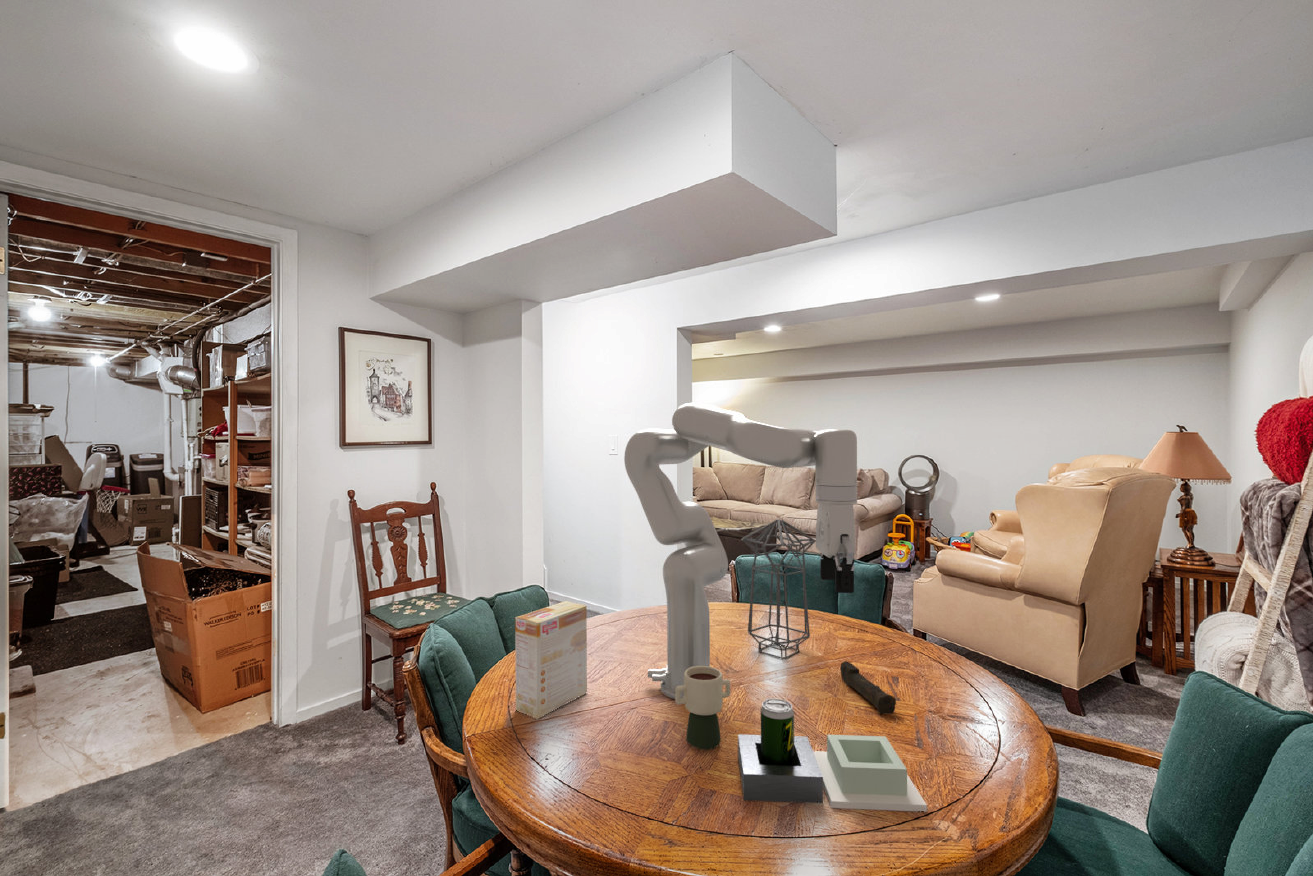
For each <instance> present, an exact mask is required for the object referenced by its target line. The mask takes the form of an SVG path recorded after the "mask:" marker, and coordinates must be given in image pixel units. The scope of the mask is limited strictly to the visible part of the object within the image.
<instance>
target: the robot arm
mask: <svg viewBox="0 0 1313 876" xmlns="http://www.w3.org/2000/svg"><path fill="white" fill-rule="evenodd" d="M671 426H672V428H673V429H670V428H669V429H668V428H646V429H642V430H639V431H637V432H635V433H634V434H633V435H632V436H631V437H630V438H629V440H628V441H627V444H626V446H625V451H624V457H623V459H624V468H625V471H626V474H627V476H628V479H629V480H630V482H631V484H632V487H633V488H634V490H635V492H636V494H637V496H638V499H639V502H640V504H641V507H642V510H643V512H644V515H645V518H646V520H647V522H648V524H649V526H650V529H651V532H652V534H653V536H654V537H655V539H656V541H657V542H658V543H659V544H661V545H663V546H676V545H680V544H681V545H682V544H684V547H683V548H678V549H676V550H675V551H673V552H671V553H670V554H669V555H668V556H667V557H666V559H665V561H664V562H663V566H662V577H663V579H662V580H663V583H664V589H665V595H666V596H665V597H666V620H667V623H666V625H667V627H666V629H667V630H666V631H667V632H666V636H667V641H666V642H667V646H666V647H667V648H666V649H667V650H666V651H667V652H666V654H667V655H666V656H667V657H666V658H667V662H666V667H662V668H661V669H658V668H647V678H648V679H649V678H650V679H651V682H660V691H661V693H662V694H663V695H665V696H666V697H668V698H670V699H673V700H675V689H676V687H677V686H682V685H684V672H685V670H686V669H688V668H690V667H694V666H709V667H711V663H710V662H711V657H710V656H711V654H710V653H711V652H710V650H711V649H710V648H711V645H710V644H711V643H710V642H711V641H710V640H711V638H710V635H711V634H710V633H711V631H710V630H711V629H710V628H711V627H710V606H709V601H708V598H707V595H706V592H705V587H707V586H710V585H712V584H715V583H717V582H719V581H721V580H722V579H723V578H724V577H725V576H726V574H727V572H728V569H729V560H728V556H727V552H726V550H725V548H724V546H723V545H724V544H723V543H722V541H721V538H720V537H719V534H718V532H717V529H716V527H715V525H714V523H713V520H712V518H711V516H710V515H709V513H708V511H707V510H706V509H705V508H704V507H703V506H702V505H701V504H699V503H697V502H694V501H681V500H680V499H679V497H678V495H677V493H676V490H675V488H674V485H673V483H672V481H671V480H670V478H669V476H667V474H665V472H663V470H662V469H661V468H660V465H677V464H682V463H684V462H686V461H688V460H690V459H692V458H693V457H695V456H696V455H698V454H699V453H701V452H702V451H704V450H705V449H706V448H708V447H711V448H716V449H720V450H723V451H727V452H729V453H732V454H733V455H736V456H739V457H741V458H745V459H747V460H749V461H754V462H757V463H761V464H764V465H768V466H772V467H774V468H775V467H777V468H781V469H791V468H803V467H812V466H814V469H815V474H814V475H815V491H814V492H815V503H818V504H817V511H816V525H815V526H816V527H815V528H816V529H815V540H816V542H815V547H816V550H817V551H818V552H819V553H820V554H819V556H820V561H819V562H820V564H819V565H820V570H819V573H820V579H821V580H823V581H825V580H826V581H834V588H835V589H834V590H835V592H836V593H837V594H853V593H854V592H855V562H856V561H855V559H854V557H855V554H856V527H855V523H856V521H855V512H854V505H856V504H858V439H857V434H856V432H855V431H853V430H852V429H839V428H838V429H823V430H818V431H817V430H812V429H805V428H804V429H803V428H788V427H787V428H785V427H779V426H774V425H770V424H766V423H762V422H757V421H754V420H750V419H749V418H747V416H746V415H745V414H744V413H741V412H737V411H733V410H728V409H727V410H726V409H723V408H720V407H718V406H716V405H714V404H708V403H707V404H706V403H699V402H697V403H696V402H689V403H684V404H682V405H680V406H679V407H678V408H676V410H675V411H674V413H673V415H672V419H671ZM682 698H684V691H681V692H680V699H682Z"/></svg>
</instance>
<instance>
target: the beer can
mask: <svg viewBox="0 0 1313 876" xmlns="http://www.w3.org/2000/svg"><path fill="white" fill-rule="evenodd" d="M794 712H795V711H794V709H793V704H791V702H789V701H788V700H785V699H781V698H767V699H765V700H763V701H762V702H761V708H760V735H761V765H778V766H794V736H795V713H794Z"/></svg>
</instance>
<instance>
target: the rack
mask: <svg viewBox="0 0 1313 876" xmlns="http://www.w3.org/2000/svg"><path fill="white" fill-rule="evenodd" d="M813 752H814V755H815V758H816V760H817V763H818V765H819V768H820V771H821V773H822V776H823V791H824V792H825V795H826V797H827V799H828V803H829V805H830V808H831V809H847V810H848V809H849V810H850V809H851V810H870V811H871V810H872V811H875V810H876V811H894V812H895V811H897V812H898V811H900V812H918V811H920V812H919V813H922V812H921V811H924V812H923V813H927V812H928V804H927V802H926V801H925V800H924V798H923V797H922V795H921V794H920V792H919V790H918V789H917V787H916V785H915V784H914V782H913V781H912V779H911V778H910V776H909V775H908V769H907V767H906V766H905V764H904V763H903V761H902V759H901V757H899V755H898V753H897V752H896V751H895V749H894V748H893V745H892V744H891V742H890V741H889V740H888V738H887V736H885V735H884V736H881V735H879V736H878V735H876V736H875V735H849V734H848V735H847V734H846V735H845V734H844V735H843V734H826V751H822V750H821V751H819V750H817V751H816V750H813Z"/></svg>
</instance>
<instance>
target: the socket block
mask: <svg viewBox="0 0 1313 876" xmlns="http://www.w3.org/2000/svg"><path fill="white" fill-rule="evenodd" d="M813 751H814V749H813V747H812V745H811V741H810V740H809V737H808V736H800V735H794V766H778V765H761V734H738V733H737V759H738V767H739V773H740V780H741V790H742V796H743V801H752V802H756V801H757V802H775V803H776V802H780V803H799V804H800V803H802V804H803V803H805V804H824V787H823V776H822V773H821V771H820V768H819V765H818V763H817V760H816V758H815V755H814V752H813Z"/></svg>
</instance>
